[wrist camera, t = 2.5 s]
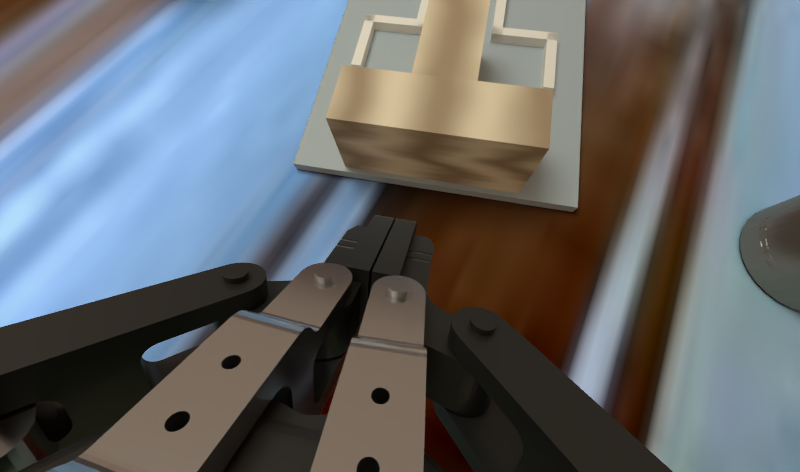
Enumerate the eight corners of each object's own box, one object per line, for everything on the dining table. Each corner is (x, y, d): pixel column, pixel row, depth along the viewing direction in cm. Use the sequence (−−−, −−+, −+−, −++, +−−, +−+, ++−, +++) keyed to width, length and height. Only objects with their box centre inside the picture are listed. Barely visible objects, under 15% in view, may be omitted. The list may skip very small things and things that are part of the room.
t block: (532, 61, 34) (560, -9, 27) (519, 193, 29) (549, 148, 22) (379, 44, 35) (370, -25, 29) (345, 166, 31) (325, 117, 24)
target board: (583, -35, 39) (591, -55, 37) (572, 212, 29) (583, 202, 27) (370, -52, 42) (367, -71, 40) (297, 168, 32) (289, 157, 30)
